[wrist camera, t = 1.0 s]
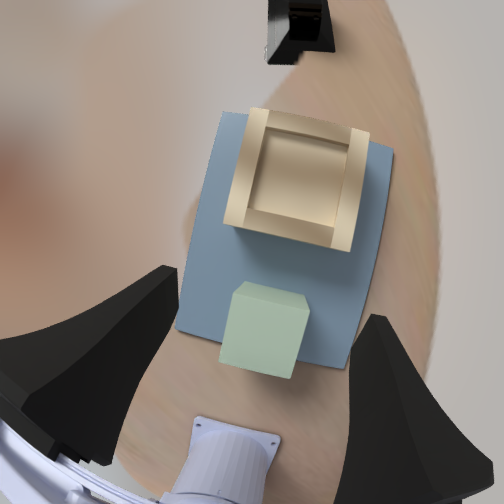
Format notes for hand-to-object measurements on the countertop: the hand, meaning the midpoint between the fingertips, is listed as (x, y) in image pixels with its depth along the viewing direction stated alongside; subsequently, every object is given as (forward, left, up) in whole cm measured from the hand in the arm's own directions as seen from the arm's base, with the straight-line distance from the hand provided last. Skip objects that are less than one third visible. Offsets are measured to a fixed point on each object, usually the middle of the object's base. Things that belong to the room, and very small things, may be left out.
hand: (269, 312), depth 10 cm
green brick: (-3, 0, -11) cm, 11 cm away
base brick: (+7, 0, -11) cm, 13 cm away
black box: (+25, +2, -12) cm, 27 cm away
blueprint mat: (+3, 0, -11) cm, 12 cm away
